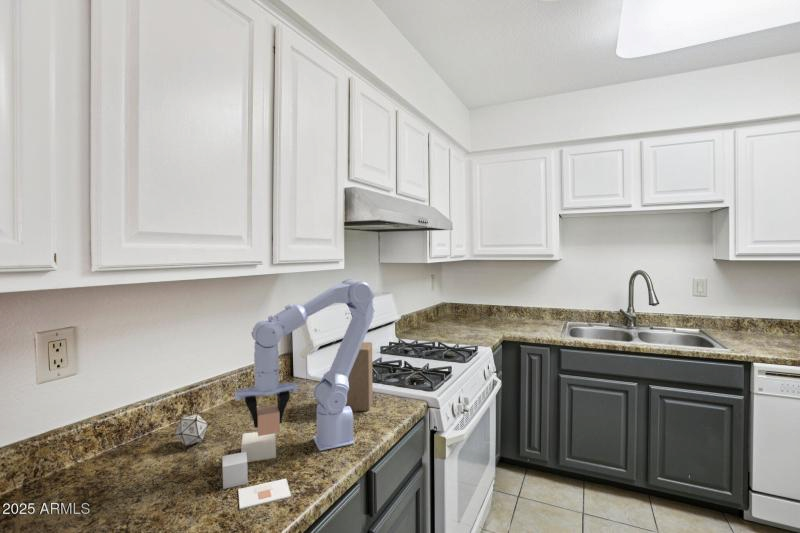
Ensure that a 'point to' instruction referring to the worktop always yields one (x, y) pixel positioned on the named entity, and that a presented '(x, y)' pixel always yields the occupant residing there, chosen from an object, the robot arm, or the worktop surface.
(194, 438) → the game die
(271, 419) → the terracotta cube
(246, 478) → the white cube
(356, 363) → the wooden block
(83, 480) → the worktop surface
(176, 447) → the worktop surface
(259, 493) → the card
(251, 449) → the cream base block
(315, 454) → the worktop surface
